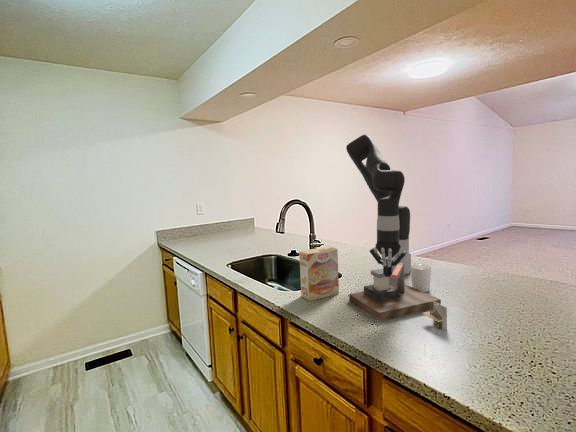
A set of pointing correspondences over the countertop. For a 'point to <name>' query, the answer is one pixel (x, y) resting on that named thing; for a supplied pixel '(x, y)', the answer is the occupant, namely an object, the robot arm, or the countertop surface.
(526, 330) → the countertop surface
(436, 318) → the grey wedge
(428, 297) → the socket board
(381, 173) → the robot arm
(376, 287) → the plug
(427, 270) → the white cup
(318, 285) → the coffeecake box
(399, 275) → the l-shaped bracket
